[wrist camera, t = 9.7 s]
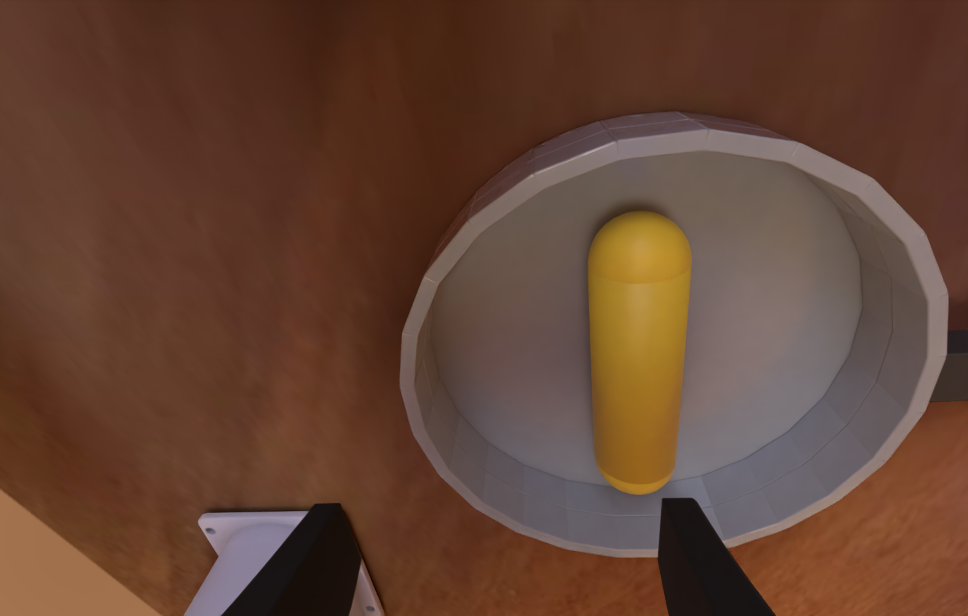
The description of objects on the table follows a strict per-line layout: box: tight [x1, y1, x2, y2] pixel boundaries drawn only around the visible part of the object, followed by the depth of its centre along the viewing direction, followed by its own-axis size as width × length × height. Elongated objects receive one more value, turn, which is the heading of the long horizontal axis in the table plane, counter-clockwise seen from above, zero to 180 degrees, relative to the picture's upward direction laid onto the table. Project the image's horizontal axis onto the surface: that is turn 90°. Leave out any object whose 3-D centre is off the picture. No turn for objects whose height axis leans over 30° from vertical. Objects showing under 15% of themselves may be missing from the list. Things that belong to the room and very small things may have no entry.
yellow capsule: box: [588, 211, 692, 495], centre depth 17 cm, size 11×3×3 cm, turn 8°
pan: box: [399, 112, 949, 557], centre depth 17 cm, size 16×16×4 cm
